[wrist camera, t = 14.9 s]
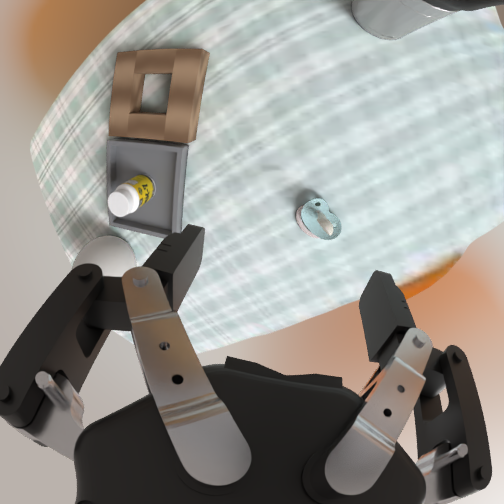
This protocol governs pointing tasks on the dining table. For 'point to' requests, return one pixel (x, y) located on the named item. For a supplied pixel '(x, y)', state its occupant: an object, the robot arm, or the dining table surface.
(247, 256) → the dining table surface
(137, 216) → the charcoal tray
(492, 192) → the dining table surface
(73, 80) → the dining table surface
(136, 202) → the supplement bottle
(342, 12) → the dining table surface
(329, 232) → the pacifier
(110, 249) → the decorative egg
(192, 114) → the walnut holder
